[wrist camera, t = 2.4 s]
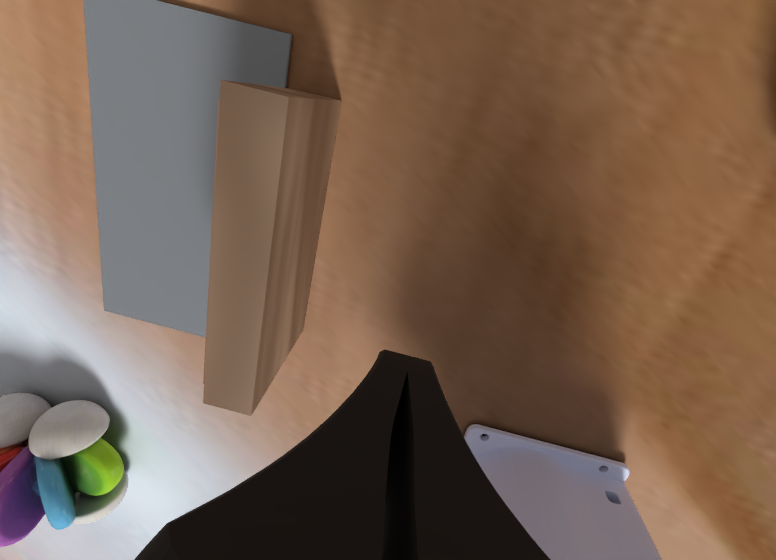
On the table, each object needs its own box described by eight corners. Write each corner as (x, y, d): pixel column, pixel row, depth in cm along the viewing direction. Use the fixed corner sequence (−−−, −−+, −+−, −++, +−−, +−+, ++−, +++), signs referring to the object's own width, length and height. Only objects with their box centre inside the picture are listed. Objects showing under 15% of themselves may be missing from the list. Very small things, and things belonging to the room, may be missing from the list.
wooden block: (342, 100, 18) (288, 97, 12) (303, 329, 23) (251, 415, 16) (293, 88, 18) (212, 77, 12) (264, 318, 23) (197, 401, 16)
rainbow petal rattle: (-6, 377, 27) (-150, 465, 20) (131, 394, 26) (27, 492, 20) (32, 470, 30) (-82, 572, 24) (154, 488, 30) (72, 598, 23)
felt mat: (292, 35, 17) (290, 34, 17) (256, 348, 23) (254, 350, 23) (86, -18, 17) (82, -19, 17) (106, 308, 24) (104, 310, 23)
